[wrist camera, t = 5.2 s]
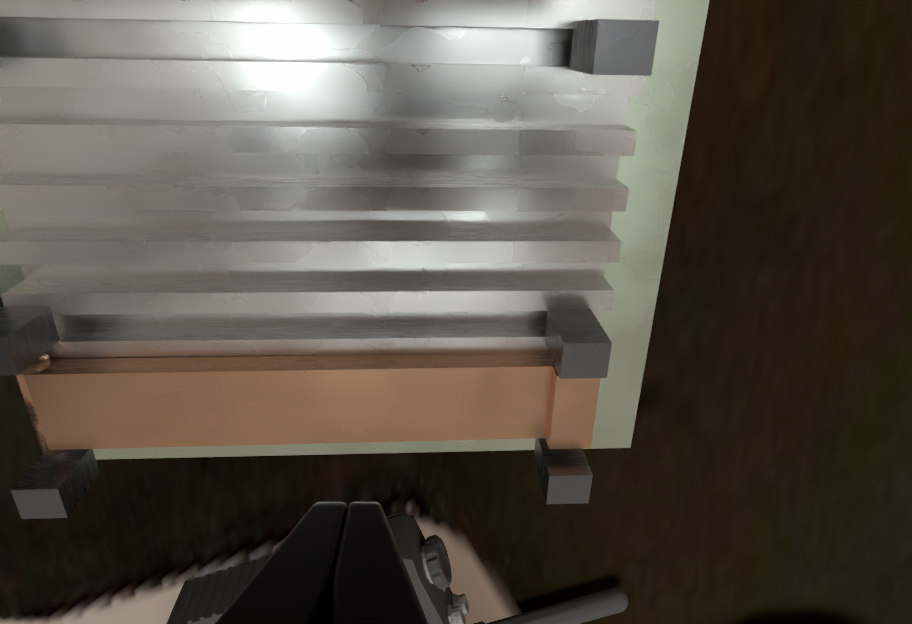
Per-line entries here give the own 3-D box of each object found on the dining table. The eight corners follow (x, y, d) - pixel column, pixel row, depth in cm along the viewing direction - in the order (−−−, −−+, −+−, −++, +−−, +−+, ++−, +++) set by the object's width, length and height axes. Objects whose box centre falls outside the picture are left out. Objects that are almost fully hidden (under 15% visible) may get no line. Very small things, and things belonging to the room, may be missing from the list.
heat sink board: (63, 450, 23) (-63, 598, 17) (-190, -332, 13) (-677, -626, 7) (625, 438, 24) (693, 571, 18) (748, -282, 15) (973, -497, 9)
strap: (51, 438, 17) (25, 468, 16) (23, 353, 16) (-8, 378, 15) (578, 426, 18) (590, 453, 17) (589, 345, 17) (602, 368, 16)
